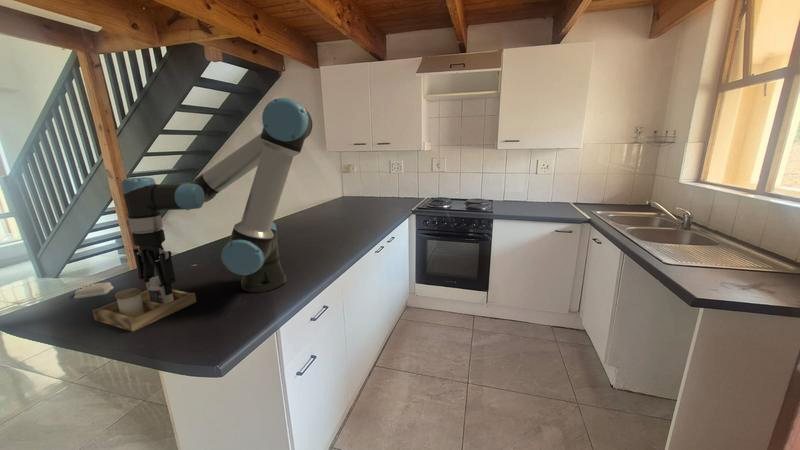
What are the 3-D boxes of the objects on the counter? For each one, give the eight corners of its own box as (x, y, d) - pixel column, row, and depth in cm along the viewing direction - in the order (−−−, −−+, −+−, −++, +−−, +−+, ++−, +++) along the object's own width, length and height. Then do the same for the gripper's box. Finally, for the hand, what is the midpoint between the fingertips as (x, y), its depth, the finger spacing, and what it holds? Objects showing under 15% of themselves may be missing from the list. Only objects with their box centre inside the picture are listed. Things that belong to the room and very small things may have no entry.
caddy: (196, 304, 100) (195, 293, 99) (133, 334, 84) (130, 321, 83) (161, 295, 106) (159, 285, 105) (95, 322, 90) (92, 310, 89)
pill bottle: (161, 309, 95) (156, 282, 93) (147, 307, 96) (141, 280, 94) (176, 301, 100) (172, 275, 98) (162, 299, 101) (158, 274, 99)
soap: (72, 300, 104) (70, 292, 104) (83, 291, 111) (81, 284, 110) (106, 295, 108) (104, 287, 107) (115, 287, 114) (113, 280, 113)
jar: (150, 313, 93) (145, 289, 91) (128, 323, 88) (122, 297, 86) (137, 310, 95) (132, 286, 93) (116, 319, 90) (110, 294, 88)
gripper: (182, 229, 93) (194, 301, 98) (141, 225, 100) (154, 292, 105) (155, 236, 86) (169, 312, 92) (113, 230, 93) (129, 302, 98)
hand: (161, 302), depth 98 cm, fingers open, 6 cm apart
